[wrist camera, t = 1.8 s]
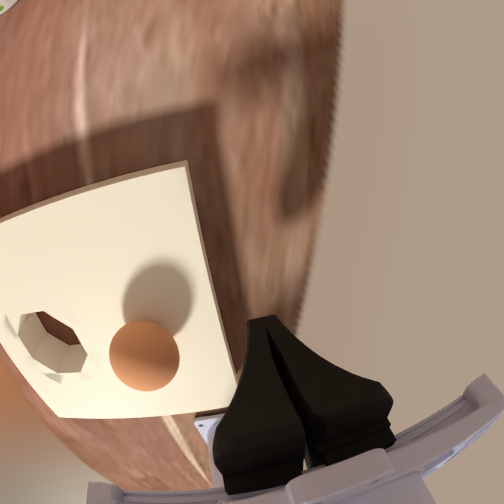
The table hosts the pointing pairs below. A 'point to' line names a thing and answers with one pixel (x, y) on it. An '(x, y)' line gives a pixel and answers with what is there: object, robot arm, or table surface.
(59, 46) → the table surface
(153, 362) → the ball
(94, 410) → the hole board
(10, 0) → the supplement bottle
